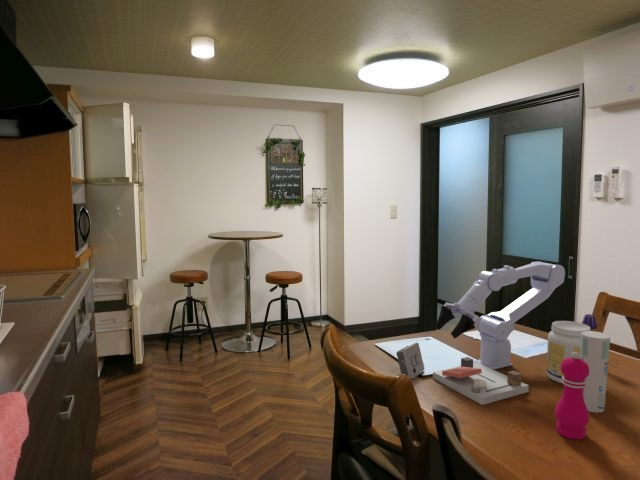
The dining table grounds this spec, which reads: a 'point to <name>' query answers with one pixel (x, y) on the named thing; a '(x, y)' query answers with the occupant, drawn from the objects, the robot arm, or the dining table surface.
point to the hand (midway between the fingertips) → (444, 331)
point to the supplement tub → (563, 345)
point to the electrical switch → (410, 360)
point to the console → (482, 385)
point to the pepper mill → (572, 399)
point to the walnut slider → (514, 378)
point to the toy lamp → (590, 321)
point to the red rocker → (461, 372)
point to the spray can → (595, 368)
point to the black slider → (467, 362)
